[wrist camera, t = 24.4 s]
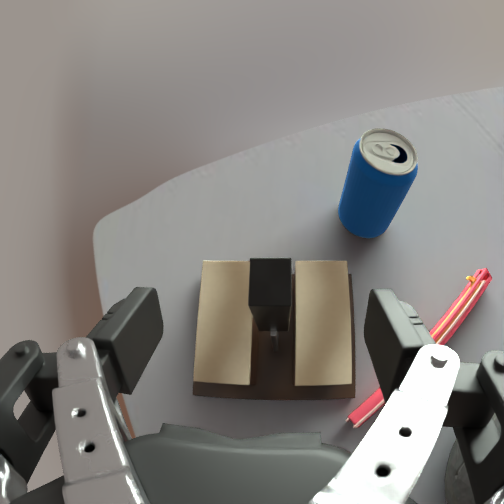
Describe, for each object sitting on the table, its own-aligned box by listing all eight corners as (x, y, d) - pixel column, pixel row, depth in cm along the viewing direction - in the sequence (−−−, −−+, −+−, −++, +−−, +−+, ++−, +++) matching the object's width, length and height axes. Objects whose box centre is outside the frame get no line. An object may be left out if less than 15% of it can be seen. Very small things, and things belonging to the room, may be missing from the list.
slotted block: (195, 394, 29) (167, 396, 22) (204, 276, 34) (182, 244, 27) (353, 397, 28) (376, 400, 20) (349, 276, 33) (367, 244, 25)
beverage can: (388, 245, 34) (425, 184, 23) (334, 236, 35) (354, 170, 24) (388, 199, 36) (417, 133, 25) (339, 190, 37) (354, 119, 27)
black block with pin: (265, 350, 30) (247, 312, 14) (266, 321, 31) (250, 251, 15) (286, 351, 29) (291, 312, 14) (286, 321, 31) (291, 251, 15)
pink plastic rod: (487, 291, 31) (473, 262, 31) (499, 289, 29) (484, 259, 29) (359, 437, 26) (336, 409, 27) (367, 444, 24) (344, 415, 25)
